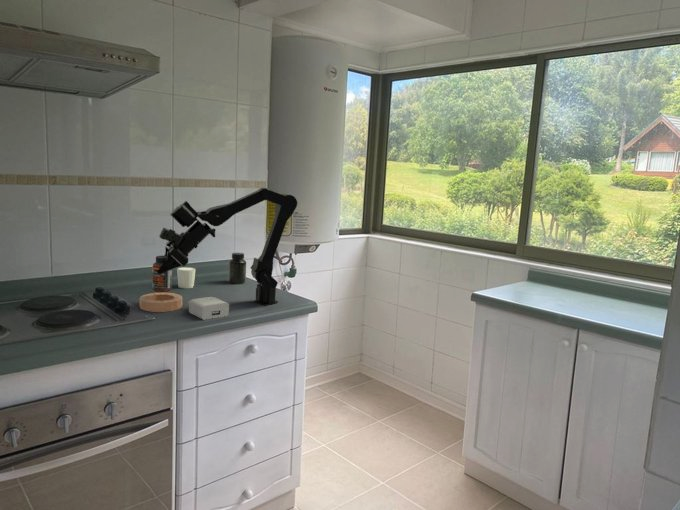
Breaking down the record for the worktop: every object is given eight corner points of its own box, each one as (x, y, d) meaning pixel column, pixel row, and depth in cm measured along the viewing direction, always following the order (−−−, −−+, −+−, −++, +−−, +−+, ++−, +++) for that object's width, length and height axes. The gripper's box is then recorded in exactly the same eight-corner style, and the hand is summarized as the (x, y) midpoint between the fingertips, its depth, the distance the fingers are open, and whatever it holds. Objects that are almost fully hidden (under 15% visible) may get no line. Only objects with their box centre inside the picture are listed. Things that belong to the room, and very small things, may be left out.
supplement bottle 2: (240, 280, 215) (241, 251, 214) (248, 283, 210) (249, 254, 208) (225, 281, 211) (226, 252, 209) (233, 285, 206) (234, 255, 204)
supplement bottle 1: (149, 292, 166) (149, 257, 164) (156, 287, 172) (155, 254, 170) (168, 293, 166) (168, 258, 164) (174, 288, 172) (174, 255, 170)
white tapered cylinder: (190, 289, 195) (190, 271, 193) (173, 287, 196) (173, 269, 194) (198, 285, 201) (198, 267, 200) (181, 283, 202) (181, 266, 201)
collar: (190, 306, 171) (190, 298, 171) (156, 314, 161) (156, 305, 160) (165, 299, 179) (165, 290, 178) (131, 305, 168) (131, 296, 168)
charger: (204, 305, 175) (228, 316, 165) (179, 309, 169) (202, 321, 158) (205, 291, 174) (229, 302, 164) (179, 295, 168) (202, 306, 157)
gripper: (172, 216, 175) (138, 248, 173) (177, 223, 158) (139, 259, 156) (196, 239, 179) (163, 271, 177) (203, 248, 162) (166, 283, 160)
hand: (157, 270), depth 167 cm, fingers closed on supplement bottle 1, 6 cm apart
